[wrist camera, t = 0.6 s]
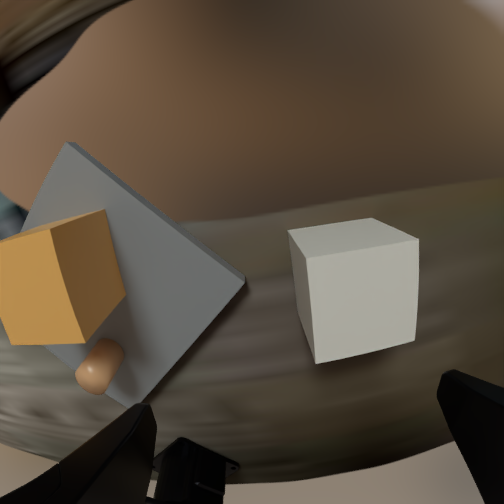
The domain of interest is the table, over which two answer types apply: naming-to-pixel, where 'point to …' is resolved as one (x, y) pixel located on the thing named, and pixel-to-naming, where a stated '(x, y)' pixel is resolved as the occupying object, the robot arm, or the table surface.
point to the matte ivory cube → (355, 287)
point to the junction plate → (135, 280)
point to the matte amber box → (59, 281)
